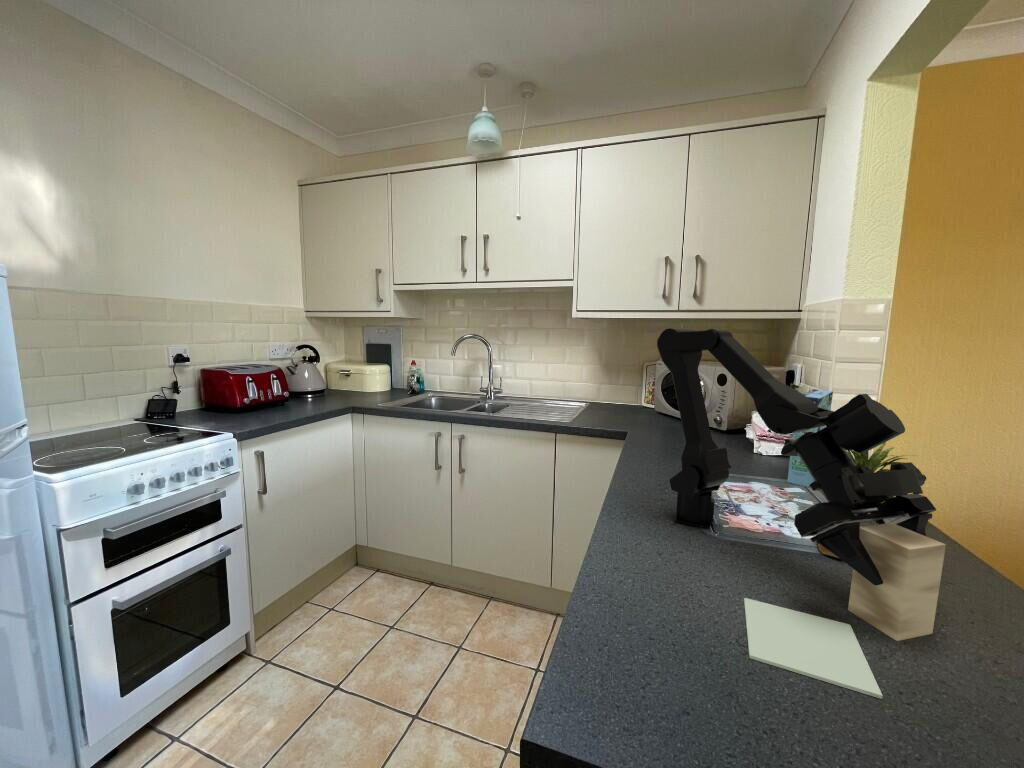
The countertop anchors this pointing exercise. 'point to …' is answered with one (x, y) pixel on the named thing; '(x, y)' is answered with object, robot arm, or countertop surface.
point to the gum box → (796, 466)
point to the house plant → (875, 459)
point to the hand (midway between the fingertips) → (907, 580)
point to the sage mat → (808, 646)
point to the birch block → (899, 581)
